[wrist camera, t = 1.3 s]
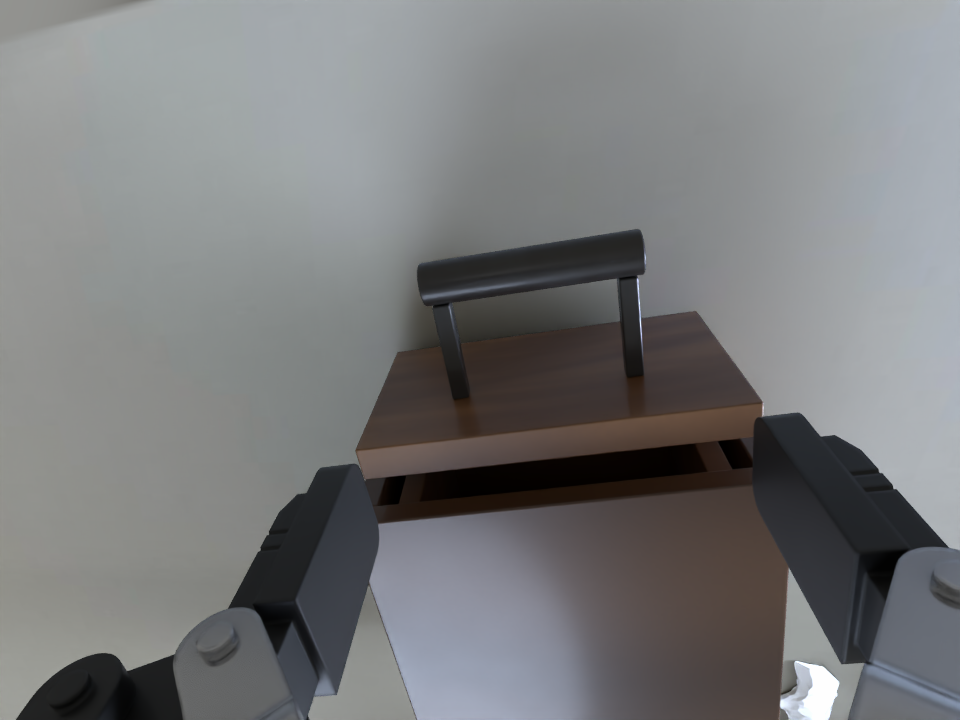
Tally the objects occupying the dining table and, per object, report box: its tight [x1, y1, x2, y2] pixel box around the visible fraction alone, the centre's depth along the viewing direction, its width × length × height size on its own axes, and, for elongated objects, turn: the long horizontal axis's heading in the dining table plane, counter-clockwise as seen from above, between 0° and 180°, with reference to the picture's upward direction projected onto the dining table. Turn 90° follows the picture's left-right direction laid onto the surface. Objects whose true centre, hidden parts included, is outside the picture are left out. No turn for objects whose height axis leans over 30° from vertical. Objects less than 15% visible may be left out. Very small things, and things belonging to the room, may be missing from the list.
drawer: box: [355, 229, 763, 504], centre depth 23 cm, size 19×12×7 cm, turn 10°
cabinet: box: [365, 437, 789, 720], centre depth 26 cm, size 16×14×9 cm
